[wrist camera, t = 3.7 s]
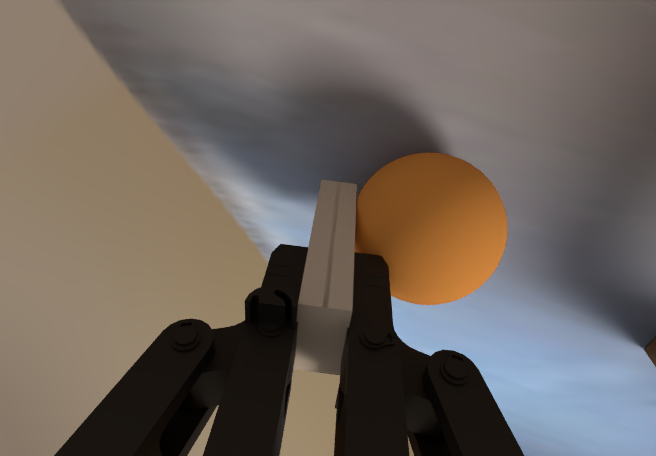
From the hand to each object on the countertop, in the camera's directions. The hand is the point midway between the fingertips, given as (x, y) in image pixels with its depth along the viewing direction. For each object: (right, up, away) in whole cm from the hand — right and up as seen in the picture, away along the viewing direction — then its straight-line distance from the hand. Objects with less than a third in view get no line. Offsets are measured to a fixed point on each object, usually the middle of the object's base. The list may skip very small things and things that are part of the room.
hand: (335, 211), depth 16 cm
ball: (+3, -1, -1) cm, 4 cm away
